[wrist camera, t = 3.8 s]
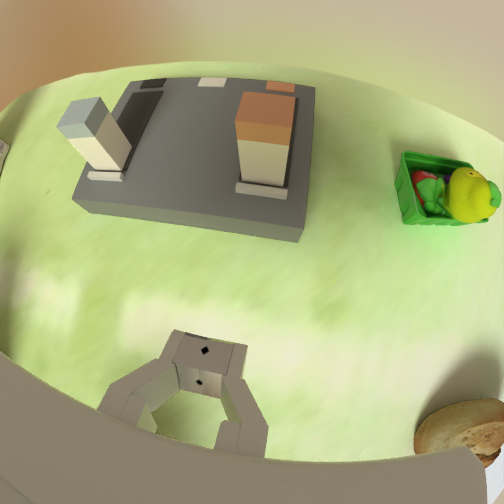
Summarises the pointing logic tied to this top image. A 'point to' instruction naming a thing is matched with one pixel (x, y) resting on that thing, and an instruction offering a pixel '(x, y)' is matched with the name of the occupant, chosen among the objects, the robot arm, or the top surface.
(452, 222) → the fruit basket
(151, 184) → the console
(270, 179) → the switch
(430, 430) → the bread roll
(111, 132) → the switch
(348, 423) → the top surface
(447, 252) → the top surface
